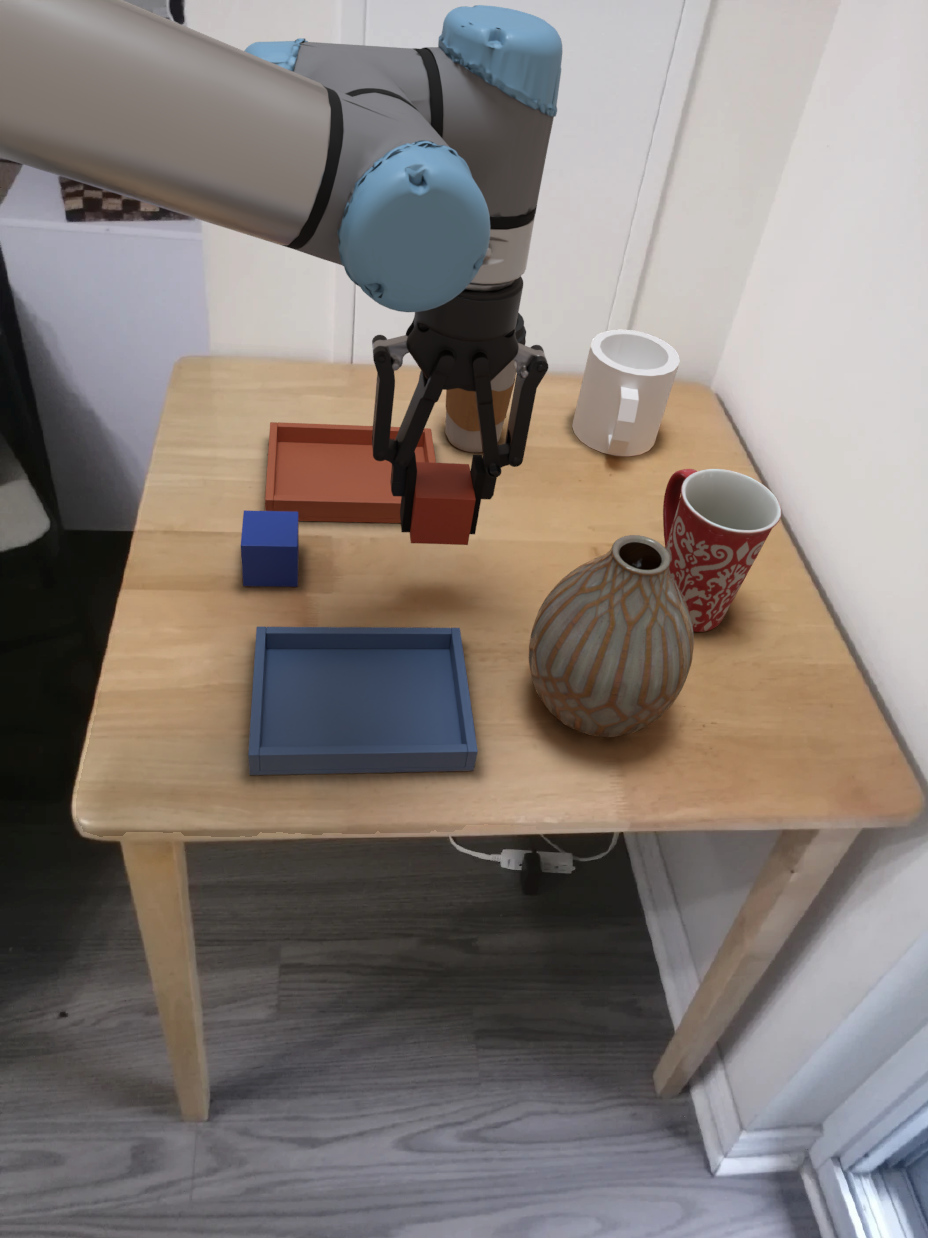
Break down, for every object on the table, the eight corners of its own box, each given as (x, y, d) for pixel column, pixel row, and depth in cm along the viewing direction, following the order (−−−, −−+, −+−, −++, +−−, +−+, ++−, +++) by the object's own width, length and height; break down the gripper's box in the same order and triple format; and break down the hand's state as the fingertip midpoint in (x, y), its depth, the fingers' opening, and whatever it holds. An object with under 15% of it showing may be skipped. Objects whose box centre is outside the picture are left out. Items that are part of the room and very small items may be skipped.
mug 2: (750, 633, 91) (801, 525, 81) (667, 646, 88) (711, 536, 79) (690, 548, 99) (731, 441, 89) (613, 558, 96) (646, 449, 87)
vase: (662, 661, 87) (720, 513, 74) (669, 776, 77) (737, 628, 65) (522, 639, 86) (557, 486, 74) (512, 752, 77) (550, 599, 65)
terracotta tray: (265, 520, 94) (265, 499, 92) (270, 441, 103) (270, 421, 102) (439, 524, 97) (442, 504, 95) (429, 447, 106) (431, 428, 104)
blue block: (243, 586, 87) (240, 545, 84) (246, 550, 90) (243, 510, 87) (297, 586, 88) (297, 546, 84) (298, 551, 91) (298, 511, 88)
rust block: (410, 543, 81) (415, 497, 77) (407, 507, 84) (412, 461, 81) (467, 545, 81) (475, 499, 78) (462, 509, 85) (469, 463, 81)
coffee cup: (514, 428, 111) (536, 309, 101) (497, 466, 105) (519, 344, 95) (447, 410, 112) (462, 291, 102) (427, 447, 106) (440, 325, 96)
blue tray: (249, 775, 72) (248, 755, 71) (257, 647, 82) (256, 626, 80) (473, 771, 75) (478, 751, 73) (456, 647, 85) (459, 627, 83)
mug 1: (659, 478, 107) (686, 397, 100) (571, 465, 107) (591, 383, 100) (652, 414, 117) (676, 336, 109) (572, 402, 117) (590, 323, 109)
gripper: (345, 282, 62) (334, 548, 78) (606, 302, 65) (543, 554, 81) (343, 234, 67) (333, 493, 84) (585, 254, 70) (530, 500, 87)
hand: (437, 522), depth 83 cm, fingers closed on rust block, 5 cm apart
